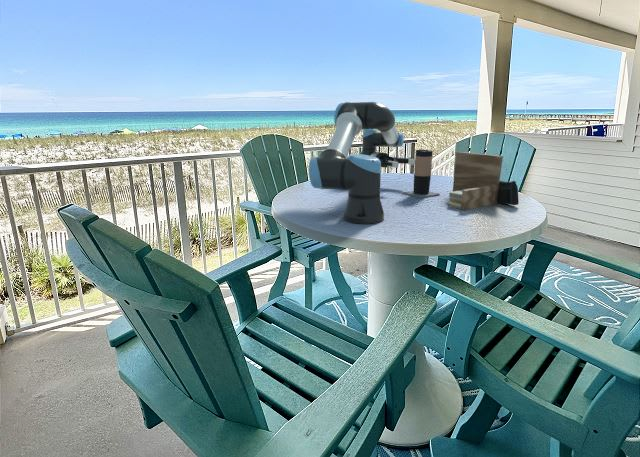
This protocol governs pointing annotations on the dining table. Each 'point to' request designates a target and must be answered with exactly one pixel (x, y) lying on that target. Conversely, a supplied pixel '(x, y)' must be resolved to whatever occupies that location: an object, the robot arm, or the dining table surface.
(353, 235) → the dining table surface
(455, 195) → the offcut stack
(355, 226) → the dining table surface
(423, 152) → the travel mug
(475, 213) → the dining table surface
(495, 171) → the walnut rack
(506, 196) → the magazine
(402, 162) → the robot arm
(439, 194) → the grey mat
